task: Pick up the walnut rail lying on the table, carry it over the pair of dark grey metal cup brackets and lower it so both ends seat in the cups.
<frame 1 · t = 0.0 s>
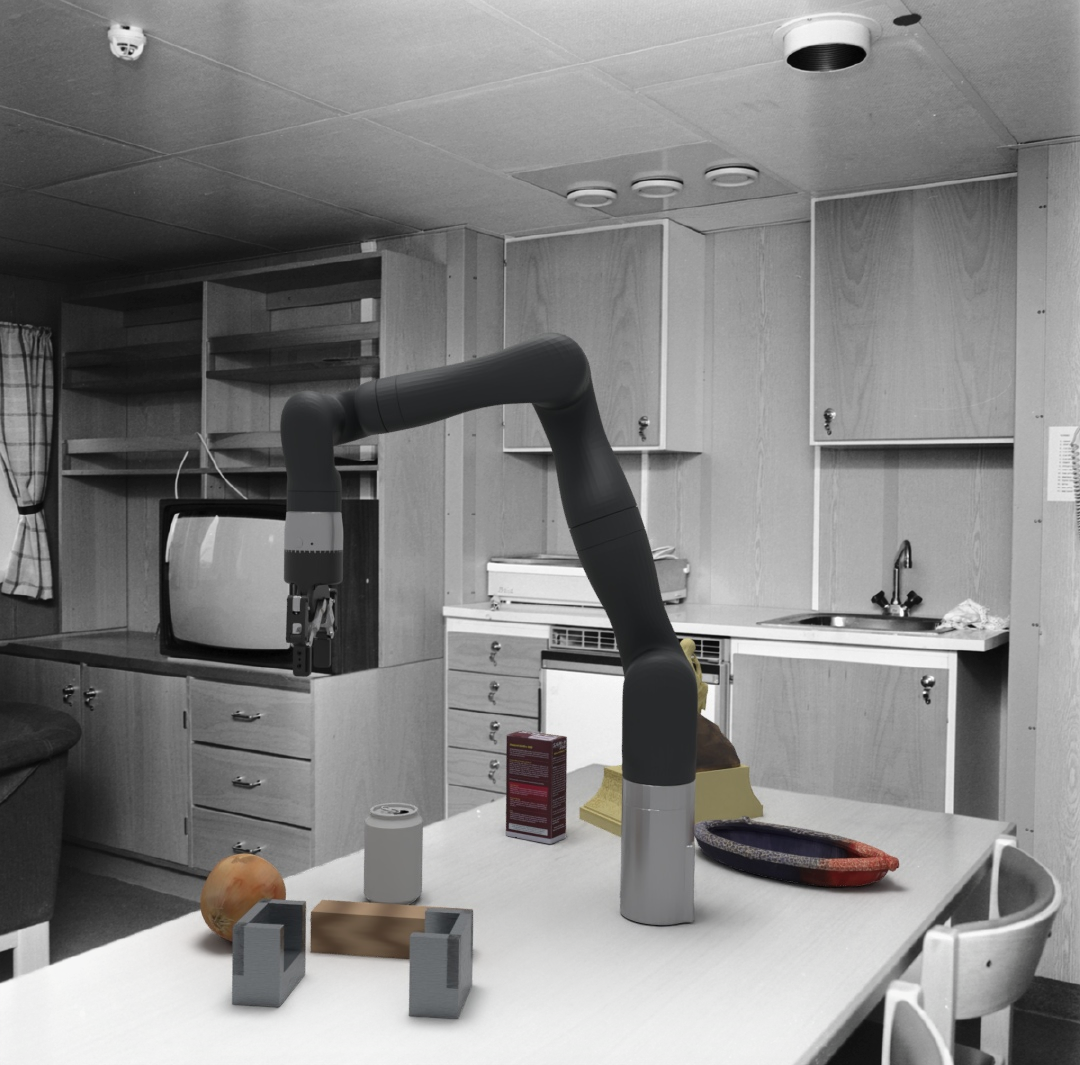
hand: (312, 671, 151), 29 cm above the table, tool pointing down, fingers open, 8 cm apart
onion: (243, 940, 136), on the table
cup brackets: (355, 994, 121), on the table
dish: (789, 872, 165), on the table
rail: (391, 953, 133), on the table
can: (392, 901, 150), on the table
decorative clock: (671, 819, 192), on the table
supplement box: (535, 838, 179), on the table
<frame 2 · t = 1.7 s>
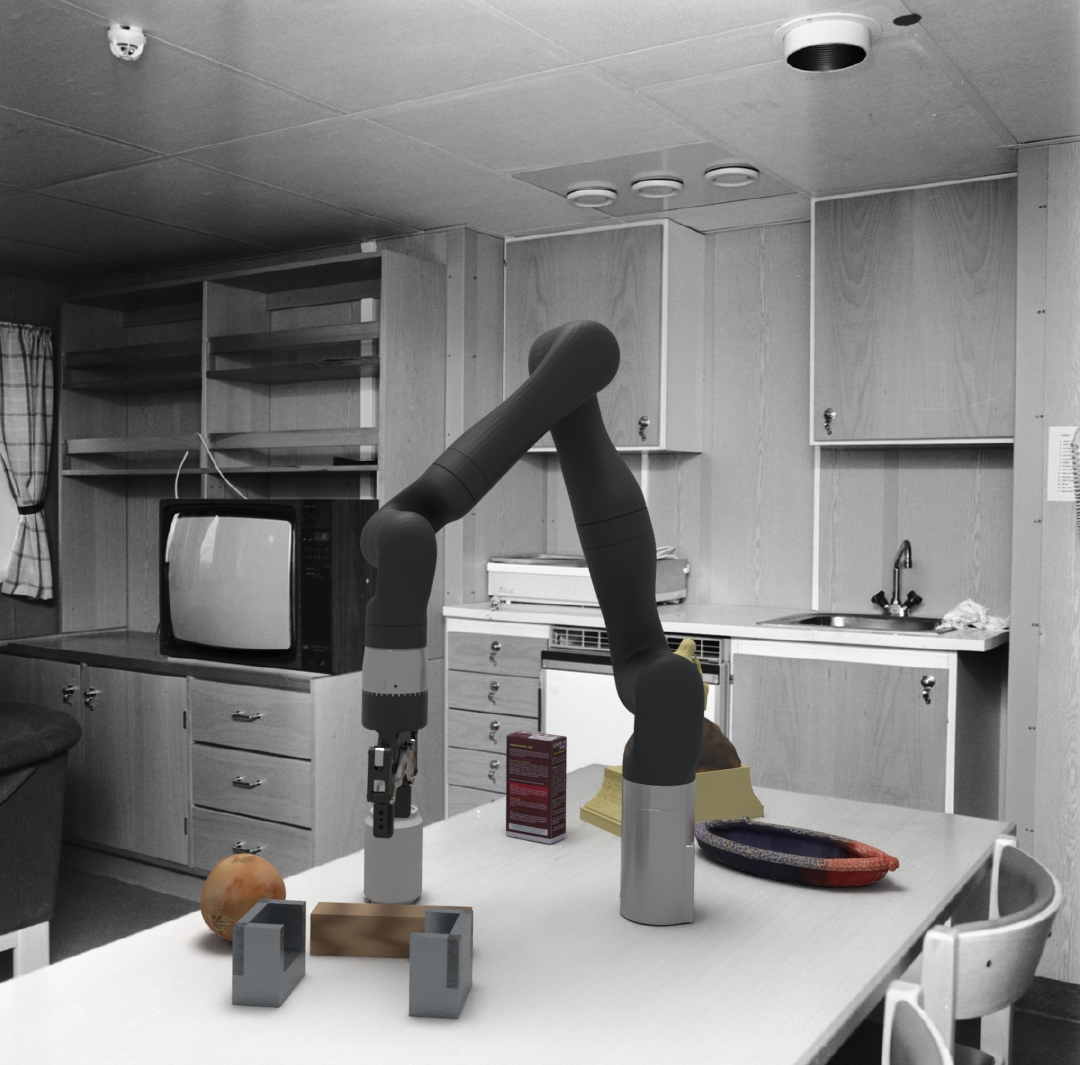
hand: (392, 827, 133), 14 cm above the table, tool pointing down, fingers open, 8 cm apart
nothing on the table moved.
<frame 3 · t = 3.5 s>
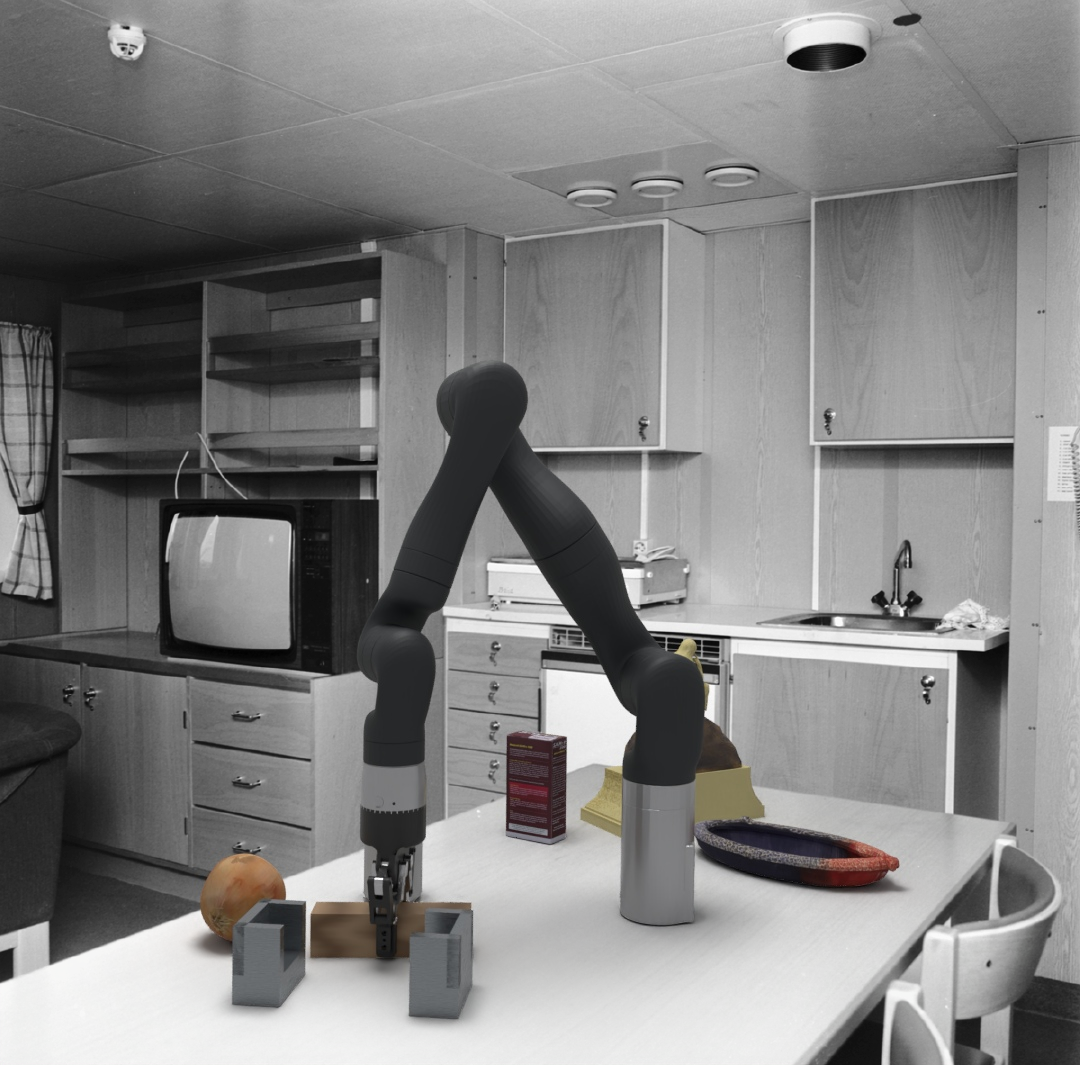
hand: (391, 947, 133), 0 cm above the table, tool pointing down, fingers closed on rail, 4 cm apart
rail: (391, 951, 133), on the table, touching gripper
everything else where it was.
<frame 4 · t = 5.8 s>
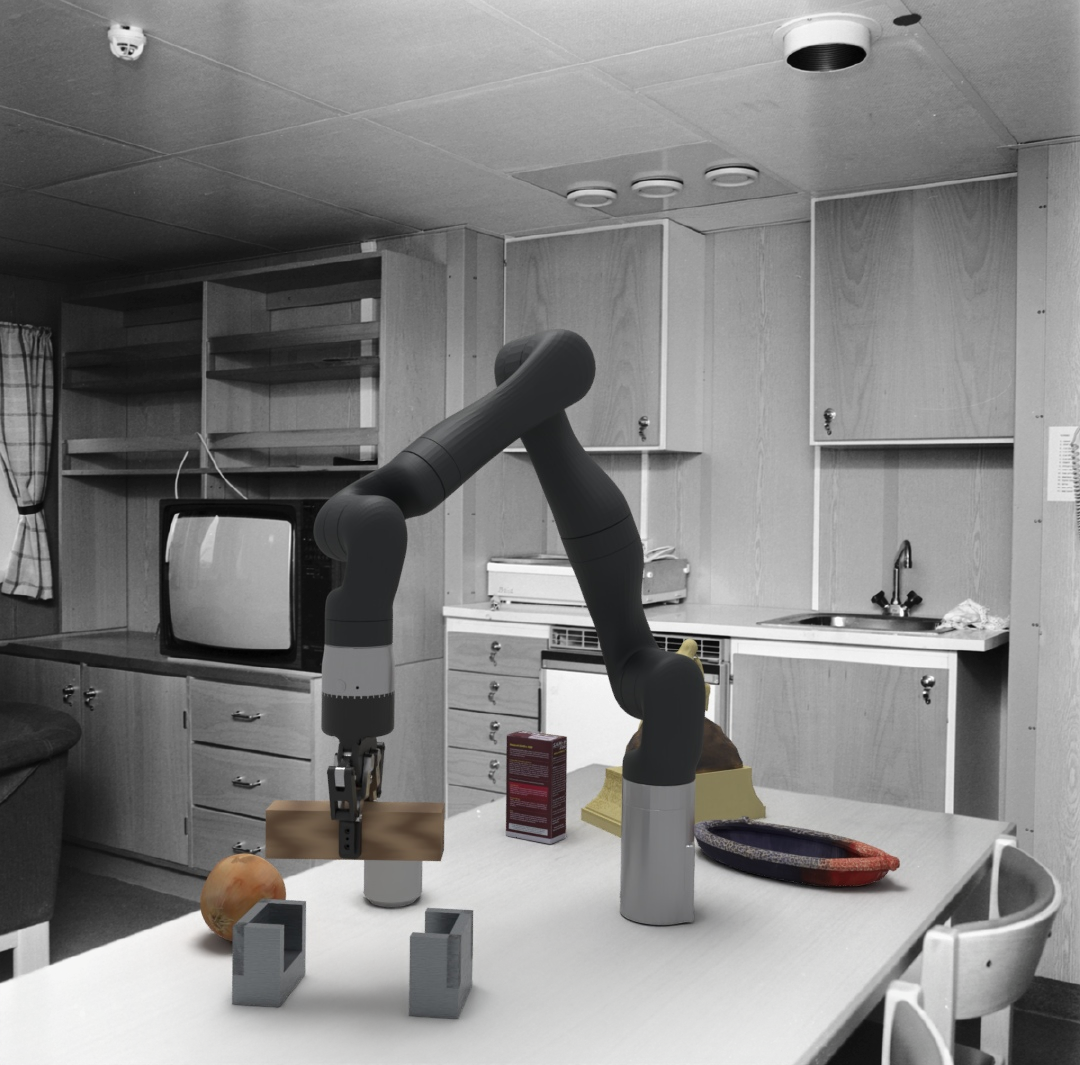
hand: (356, 849, 121), 15 cm above the table, tool pointing down, fingers closed on rail, 4 cm apart
rail: (356, 854, 121), point 15 cm above the table, touching gripper
everything else where it was.
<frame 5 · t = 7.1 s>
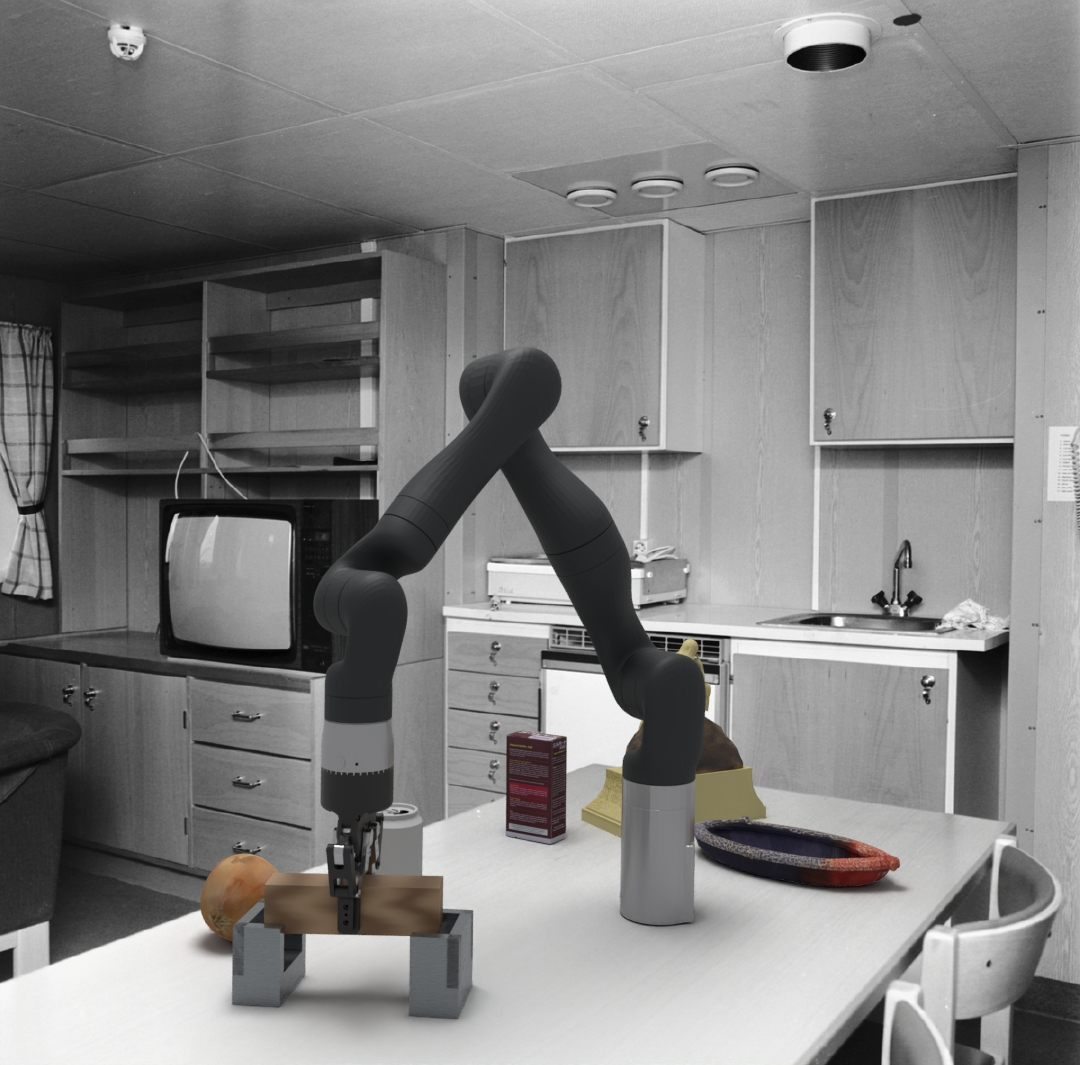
hand: (355, 923, 121), 7 cm above the table, tool pointing down, fingers closed on rail, 4 cm apart
rail: (354, 928, 121), point 7 cm above the table, touching gripper
everything else where it was.
when the fingers open (5 cm above the table, at t = 8.0 s): rail drops 1 cm, resting on cup brackets.
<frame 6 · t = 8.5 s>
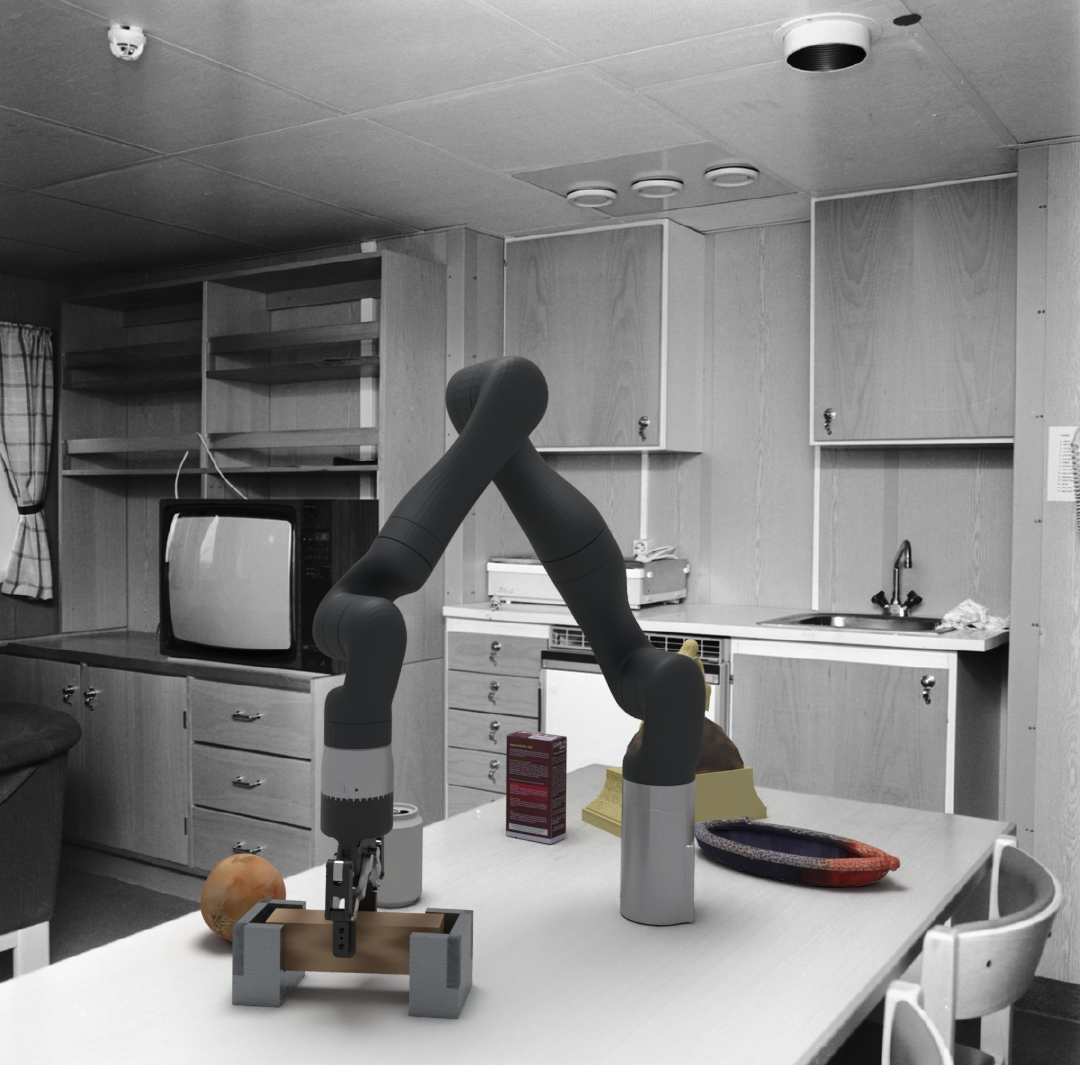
hand: (355, 941, 121), 6 cm above the table, tool pointing down, fingers open, 8 cm apart
rail: (355, 965, 121), point 3 cm above the table, touching cup brackets
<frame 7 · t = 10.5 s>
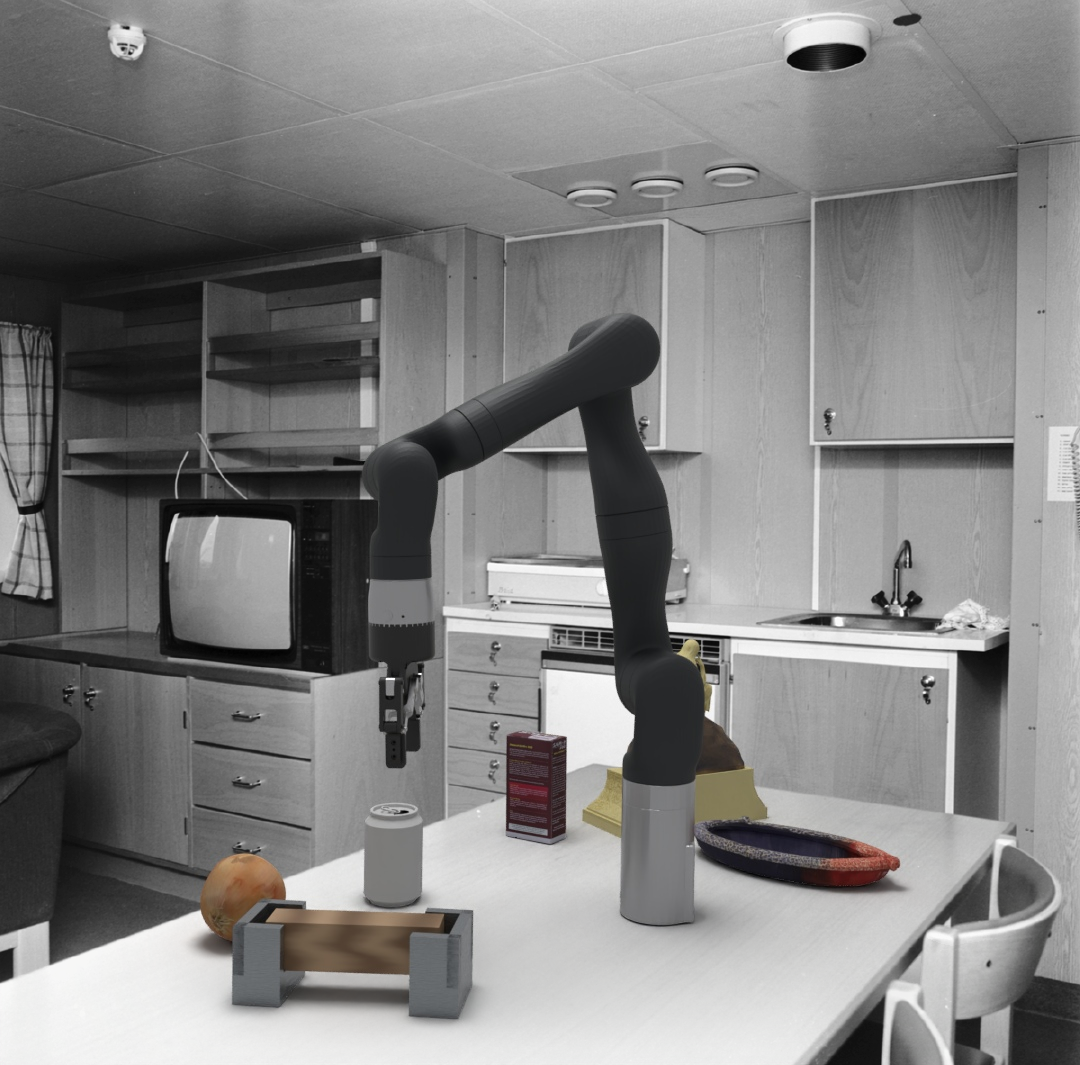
hand: (403, 759, 133), 22 cm above the table, tool pointing down, fingers open, 8 cm apart
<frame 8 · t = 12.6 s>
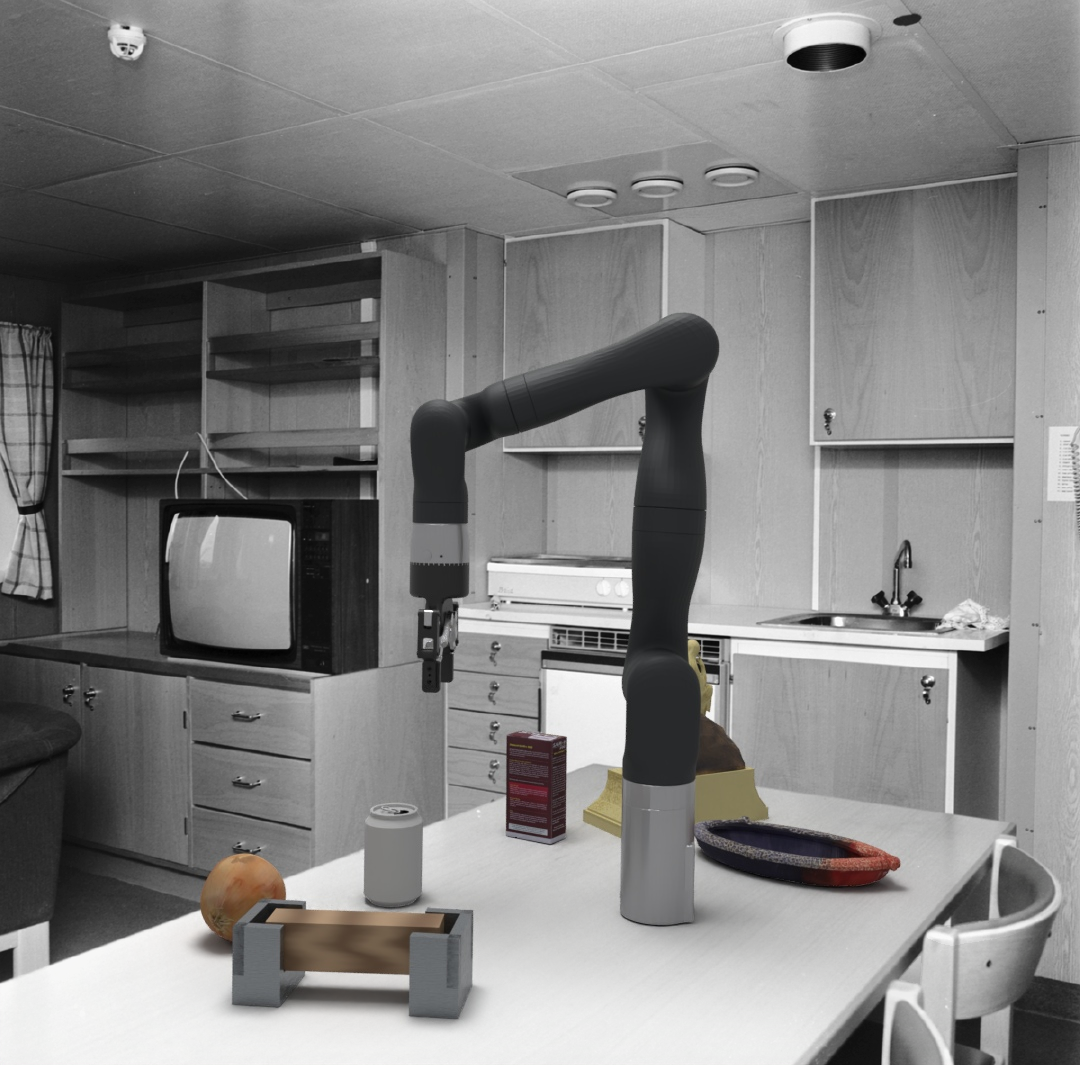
hand: (438, 687, 147), 28 cm above the table, tool pointing down, fingers open, 8 cm apart
at the end: rail 0.1 cm off-centre on the cup brackets, point 3.0 cm above the cup brackets's base; rail tilted 0°; the gripper is holding nothing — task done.
